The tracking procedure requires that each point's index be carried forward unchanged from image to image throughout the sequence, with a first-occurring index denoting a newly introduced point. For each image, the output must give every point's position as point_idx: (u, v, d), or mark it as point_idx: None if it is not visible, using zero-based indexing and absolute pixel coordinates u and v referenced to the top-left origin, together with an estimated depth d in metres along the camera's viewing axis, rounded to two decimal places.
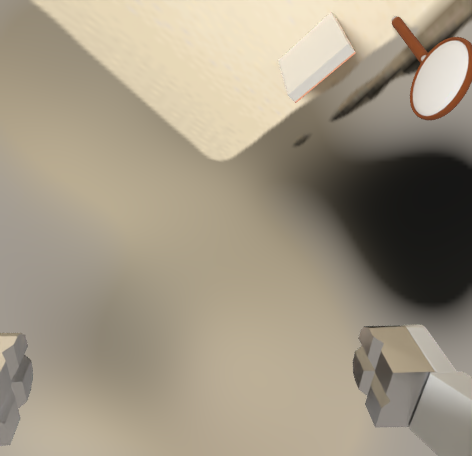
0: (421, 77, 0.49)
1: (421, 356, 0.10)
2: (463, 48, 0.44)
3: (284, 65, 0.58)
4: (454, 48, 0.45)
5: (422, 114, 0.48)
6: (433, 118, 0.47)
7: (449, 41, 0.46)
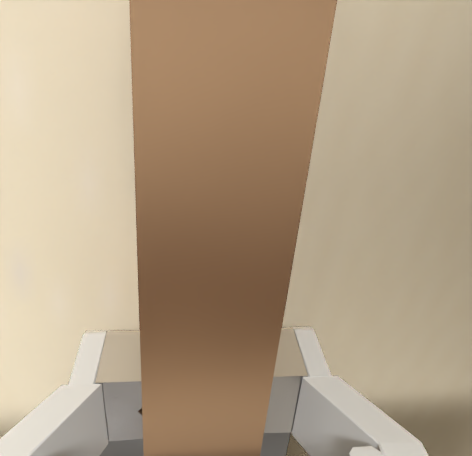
0: None
1: (301, 360, 0.10)
2: None
3: None
4: None
5: None
6: None
7: None
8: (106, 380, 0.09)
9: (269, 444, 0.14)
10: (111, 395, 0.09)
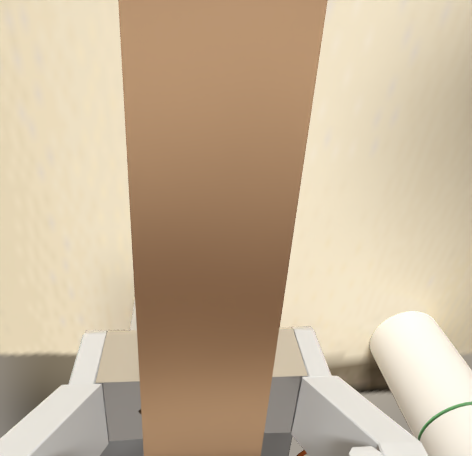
0: None
1: (300, 360, 0.10)
2: None
3: None
4: None
5: None
6: None
7: None
8: (106, 380, 0.09)
9: (271, 446, 0.14)
10: (111, 395, 0.09)
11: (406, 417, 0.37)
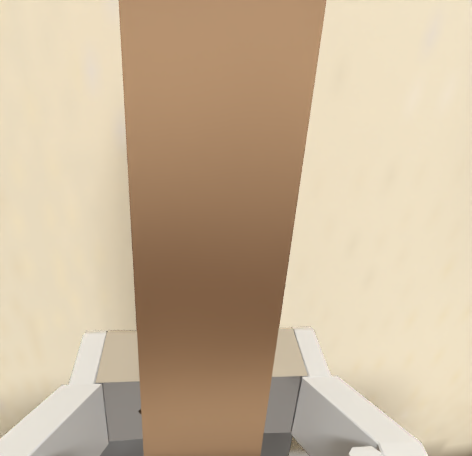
0: None
1: (300, 359, 0.10)
2: None
3: None
4: None
5: None
6: None
7: None
8: (106, 380, 0.09)
9: (271, 446, 0.14)
10: (111, 395, 0.09)
11: None
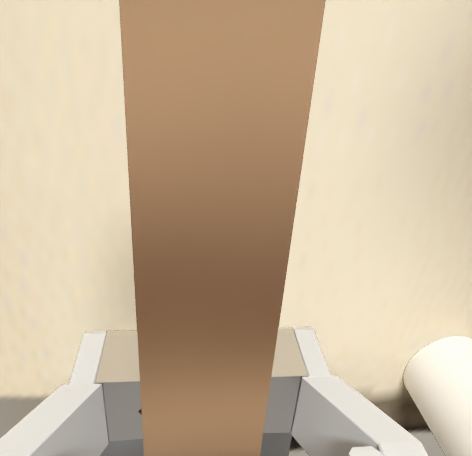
0: None
1: (300, 359, 0.10)
2: None
3: None
4: None
5: None
6: None
7: None
8: (106, 380, 0.09)
9: (271, 445, 0.14)
10: (111, 395, 0.09)
11: None
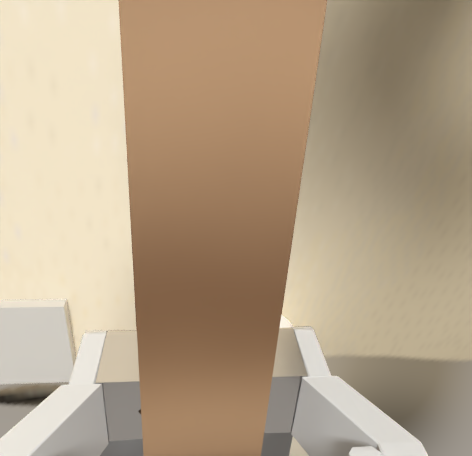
0: None
1: (300, 360, 0.10)
2: None
3: None
4: None
5: None
6: None
7: None
8: (106, 380, 0.09)
9: (271, 448, 0.14)
10: (111, 395, 0.09)
11: None
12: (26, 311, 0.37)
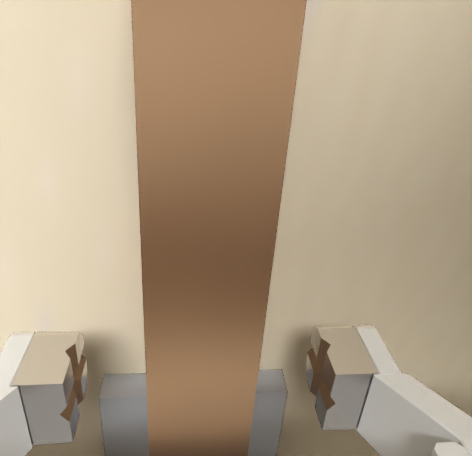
0: None
1: (368, 357, 0.10)
2: None
3: None
4: None
5: None
6: None
7: None
8: (24, 383, 0.08)
9: (265, 418, 0.15)
10: (30, 398, 0.09)
11: None
12: None
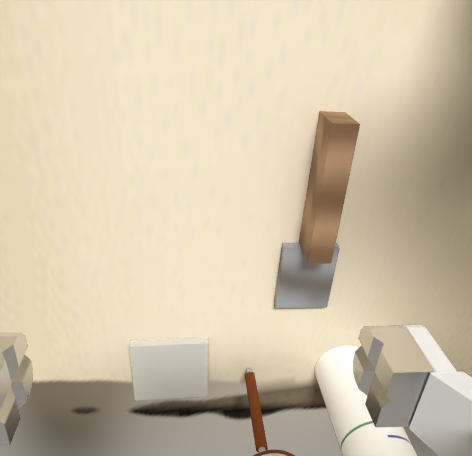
0: None
1: (421, 356, 0.10)
2: None
3: (137, 362, 0.51)
4: None
5: None
6: None
7: None
8: None
9: (331, 258, 0.47)
10: None
11: (334, 430, 0.49)
12: (181, 347, 0.51)
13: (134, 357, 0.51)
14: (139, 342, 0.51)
